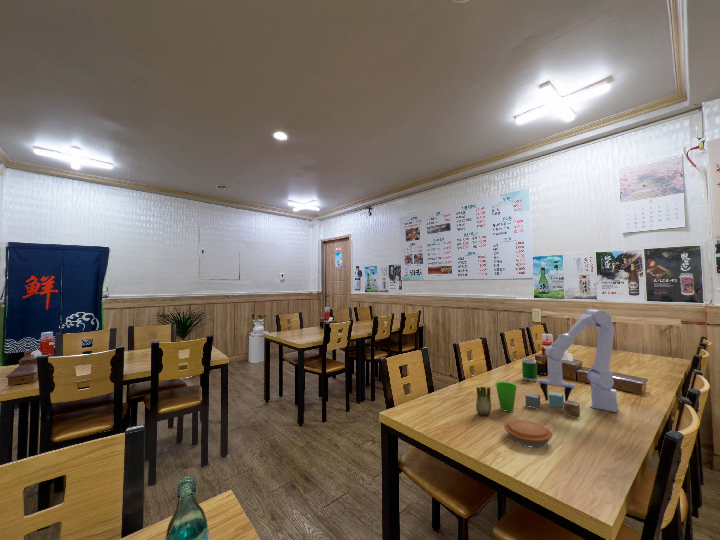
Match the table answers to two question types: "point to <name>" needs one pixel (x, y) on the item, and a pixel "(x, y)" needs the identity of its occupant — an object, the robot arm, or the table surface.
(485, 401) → the fennel bulb
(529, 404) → the charcoal block
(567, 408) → the walnut block
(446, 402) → the table surface
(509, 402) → the cup
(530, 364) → the soda can
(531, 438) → the pie
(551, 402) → the teal block
